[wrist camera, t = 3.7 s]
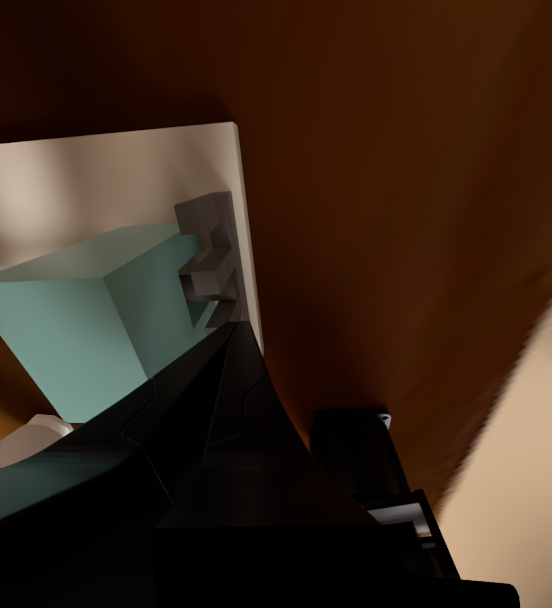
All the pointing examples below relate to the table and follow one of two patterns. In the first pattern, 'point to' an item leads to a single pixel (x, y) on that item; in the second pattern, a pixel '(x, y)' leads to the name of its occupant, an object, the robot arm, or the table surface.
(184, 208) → the cord board
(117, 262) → the teal block
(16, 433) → the cup
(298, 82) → the table surface
